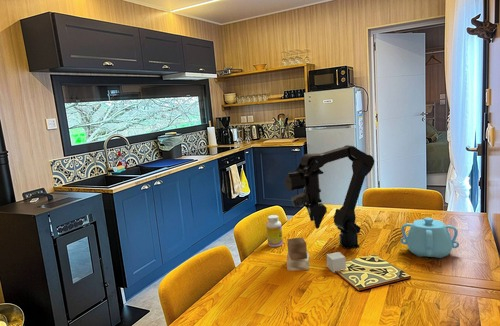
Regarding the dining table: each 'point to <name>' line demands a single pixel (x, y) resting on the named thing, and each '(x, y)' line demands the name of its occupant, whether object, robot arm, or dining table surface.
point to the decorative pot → (429, 238)
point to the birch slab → (297, 263)
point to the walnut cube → (297, 248)
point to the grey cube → (336, 261)
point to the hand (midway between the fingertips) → (314, 224)
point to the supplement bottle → (274, 231)
